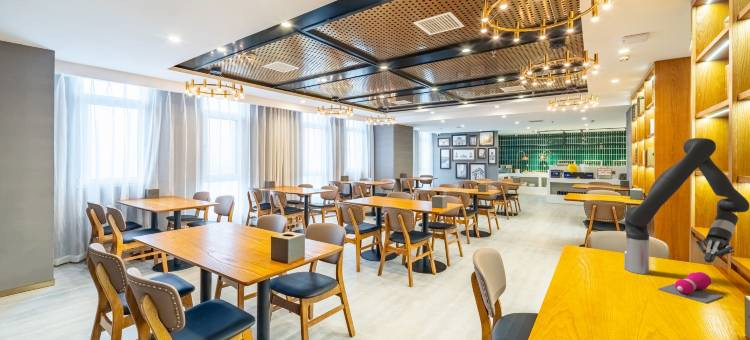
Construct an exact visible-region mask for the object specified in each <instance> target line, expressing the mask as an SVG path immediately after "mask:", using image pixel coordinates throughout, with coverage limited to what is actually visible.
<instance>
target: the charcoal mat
mask: <svg viewBox="0 0 750 340" xmlns="http://www.w3.org/2000/svg"><path fill="white" fill-rule="evenodd" d="M658 291H661V292H665V293H668V294H671V295H675V296H679V297H682V298H685V299H689V300H693V301H696V302H700V303H703V304H709V303H711V302H714V301H717V300H719V299H723V298H724V295H721V294H717V293H714V292H710V291H707V290H704V289H703V290H696V289H695V290H694V291H693V292H692V293H691V294H682V293H680V292H678V291H677V290H676V288H675V283H672V284H668V285H665V286H662V287H659V288H658Z"/></svg>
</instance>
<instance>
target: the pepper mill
mask: <svg viewBox="0 0 750 340" xmlns="http://www.w3.org/2000/svg"><path fill="white" fill-rule="evenodd" d="M712 283H713V282H712V279H711V277H710V276H709V274H707V273H705V272H703V271H696V272H691V273H689V274H687V276H686V277H685V278H683V279H680V278H679V279H678V280H676V281H675V282H674V284H675V288H676V290H677V291H678V292H680V293H682V294H691V293H692V292H693V291H694V290H695V289H696V290H703V291H704V290H706V289H707V288H708V287H709V286H711V284H712Z"/></svg>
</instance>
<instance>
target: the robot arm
mask: <svg viewBox="0 0 750 340" xmlns="http://www.w3.org/2000/svg"><path fill="white" fill-rule="evenodd" d="M682 148H683V151H684V153H685V155H684V156H683V157H682V158H681V159H680V160H679V161H678V162H676V163H675V164H674V165H672V166H670V167H669V168H667V169H665V171H663V172H662V173H660V175H659V177H657V179H656V180H655V181H654V182H653V184H652V185H651V187H650V189H649V191H648V192H647V195H646V197H645V198H644V199H643V201H641V203H640V204H639V205H637V206H631V207H629V208H628V209H627V210H626V211H625V214H624V228H625V233H626V234H625V235H626V238H625V239H626V241H625V242H626V247H625V248H626V250H625V251H624V254H623V255H624V259H623V261H624V262H623V263H624V264H623V265H624V266H623V267H624V270H626V271H627V272H630V273H634V274H638V275H647V274H650V234H649V231H648V224H650V223H651V222H652V219H653V218H654V217H655V215H656V214H657V213H658V211H659V210H660V209H661V207H663V205H665V203H667V202H668V200H669V199H671V197H672V196H674V194H676V192H677V191H678V190H679V189H680V188H681V187H682V186H683V185H684V183H685V182H686V181H687V180H688V179H689V177H690V176H691V175H693V173H694V172H695V171H696V170H697V169H698V170H699V171H700V172H701V174H702V175H703V177H704V178H705V180H706V181H707V183H708V185H709V187H710V188H711V191H713V193H714V194H715V196H717V197H725V198H721V199H719V200H718V201H717V202H716V216H715V218H714V221H713V223H711V226H710V227H709V230H708V232H707V234H706V236H705V238H704V239H703V241H702V240H701V241H699V240H697V241H696V242H695V243H696V245H697V246H698V247H699V250H701V252H702V253H703V254H704V257H703V259H704V261H705V262H706V263H709V264H712V263H714V261H715V259H716V257H721V258H722V257H725V256H727V255H729V254H731V253H734V252H735V249H734V247H733V246H732V245H730V242H731V239H732V237H733V235H734V233H735V229H736V226H737V225H738V220H739V217H738V215H737V213H745V212H746V213H747V212H748V211H749V210H750V203H749V201H748V199H746V197H745V196H743V195H742V194H741V193H740V192H739V191H738V190H737V189H736V188H735V187H734V186H733V184H732V182H731V180H730V179H729V178H728V176H727V175H726V174H725V172H723V171H722V169H721V168H720V167H718V165H716V163H715V162H714V161H713V159H712V158H711V156H712V155H713V154H714V153H715V151H716V150H717V145H716V141H714V140H712V139H710V138H705V137H695V138H690V139H688V140H686V141H685V142H684V143H683V147H682ZM704 246H706V248H705V247H704Z"/></svg>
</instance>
